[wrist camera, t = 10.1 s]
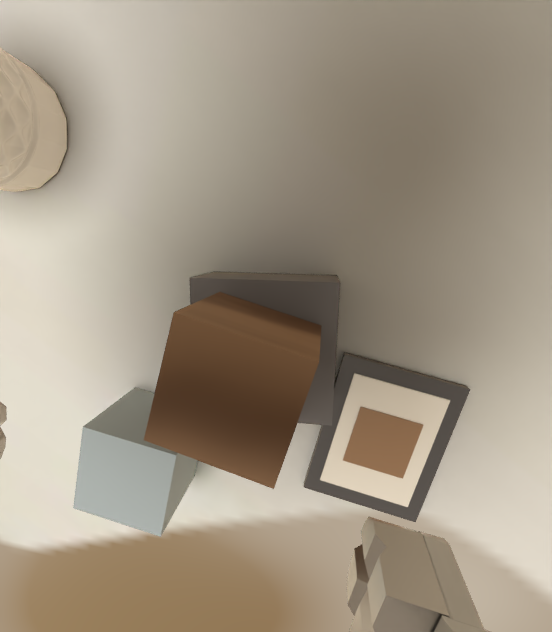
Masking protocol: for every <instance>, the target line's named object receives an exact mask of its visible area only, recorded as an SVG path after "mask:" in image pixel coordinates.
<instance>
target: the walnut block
mask: <svg viewBox="0 0 552 632" xmlns="http://www.w3.org/2000/svg"><path fill="white" fill-rule="evenodd" d="M320 341H321V325H318V324H315V323H312V322H309V321H306V320H303V319H300V318H297V317H294V316H291V315H288V314H285V313H282V312H279V311H276V310H273V309H270V308H267V307H264V306H261V305H258V304H255V303H252V302H249V301H246V300H243V299H240V298H237V297H234V296H231V295H228V294H225V293H222V292H218V293H216V294H214V295H211V296H209V297H207V298H205V299H202V300H200V301H198V302H196V303H193V304H191V305H189V306H187V307H184V308H182V309H180V310H178V311H175V312H174V314H173V318H172V322H171V327H170V331H169V335H168V339H167V343H166V348H165V352H164V356H163V360H162V364H161V369H160V373H159V377H158V381H157V386H156V390H155V394H154V398H153V402H152V407H151V411H150V415H149V419H148V423H147V428H146V432H145V436H144V441H147V442H150V443H153V444H155V445H158V446H161V447H163V448H166V449H169V450H171V451H174V452H177V453H179V454H182V455H185V456H187V457H190V458H193V459H195V460H198V461H201V462H203V463H206V464H209V465H211V466H214V467H217V468H220V469H222V470H225V471H228V472H230V473H233V474H236V475H238V476H241V477H244V478H246V479H249V480H252V481H254V482H257V483H260V484H262V485H265V486H268V487H270V488H273V489H274V486H275V484H276V481H277V478H278V475H279V473H280V470H281V467H282V464H283V461H284V459H285V456H286V453H287V450H288V447H289V445H290V442H291V439H292V436H293V434H294V431H295V428H296V425H297V422H298V420H299V417H300V414H301V411H302V409H303V406H304V403H305V400H306V397H307V395H308V392H309V389H310V386H311V383H312V381H313V378H314V375H315V372H316V370H317V367H318V364H319V358H320Z"/></svg>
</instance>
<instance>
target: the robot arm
mask: <svg viewBox="0 0 552 632" xmlns="http://www.w3.org/2000/svg"><path fill="white" fill-rule="evenodd" d="M6 420H7V417H6V406H5V405H4V404H2V403H1V402H0V426H1V425H2V424H3V423H4V422H5V421H6ZM5 443H6V437H5V435H4V433H3V431H2V429H1V427H0V458H1V457H2V454H3V451H4V449H5ZM361 536H362V545H360V546H358V547H357V548H355V549H354V552H353V555H352V558H351V561H350V566H349V571H348V576H347V603H348V606H349V607H350V609H351V611H352V613H353V614H354V619H353V622H352V624H351V627H350V629H349V632H490V631H487V630H485V629H484V627H483V625H482V622H481V620H480V617H479V615H478V612H477V610H476V608H475V605H474V603H473V600H472V598H471V596H470V593H469V591H468V588H467V586H466V583H465V581H464V579H463V576H462V574H461V571H460V569H459V566H458V564H457V562H456V559H455V557H454V554H453V552H452V550H451V547H450V545H449V543H448V542H447V541H446V540H445V539H444V538H441V537H437V536H433V535H430V534H427V533H423V532H420V531H418V532H417V531H414V530H411V529H408V528H405V527H401V526H398V525H395V524H391V523H388V522H385V521H382V520H378V519H375V518H372V517H368V518H367V520H366V521H365V523H364V525H363V528H362V530H361Z"/></svg>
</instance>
